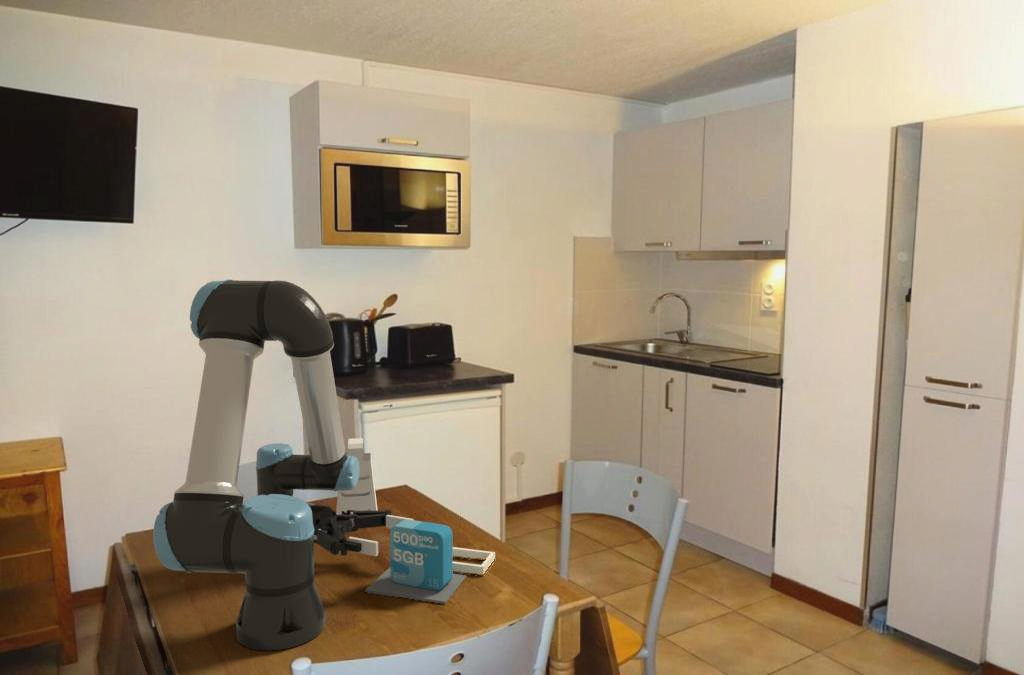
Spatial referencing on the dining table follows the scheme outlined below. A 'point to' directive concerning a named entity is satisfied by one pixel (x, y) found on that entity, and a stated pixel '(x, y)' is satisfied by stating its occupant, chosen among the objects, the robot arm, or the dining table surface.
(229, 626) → the dining table surface
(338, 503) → the grater
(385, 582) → the mat
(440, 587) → the blue rounded block
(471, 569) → the cradle
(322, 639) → the dining table surface
